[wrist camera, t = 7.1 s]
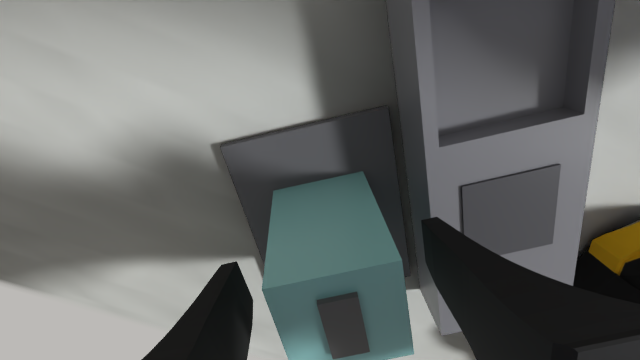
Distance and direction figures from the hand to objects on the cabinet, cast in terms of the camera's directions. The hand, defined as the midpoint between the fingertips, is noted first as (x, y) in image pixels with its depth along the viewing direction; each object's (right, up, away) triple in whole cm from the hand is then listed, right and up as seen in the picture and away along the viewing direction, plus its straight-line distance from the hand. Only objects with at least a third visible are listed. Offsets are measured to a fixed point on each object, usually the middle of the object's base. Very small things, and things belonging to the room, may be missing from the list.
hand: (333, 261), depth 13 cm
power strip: (+6, +5, +2) cm, 8 cm away
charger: (0, +1, +3) cm, 3 cm away
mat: (0, +2, +3) cm, 3 cm away
